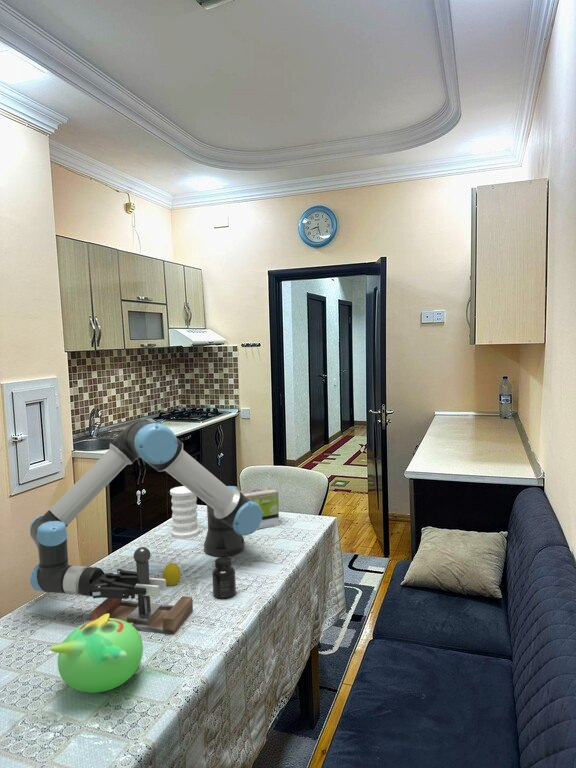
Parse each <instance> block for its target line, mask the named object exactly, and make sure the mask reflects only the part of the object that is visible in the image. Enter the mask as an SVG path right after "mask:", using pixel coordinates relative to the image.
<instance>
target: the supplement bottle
mask: <svg viewBox="0 0 576 768" xmlns="http://www.w3.org/2000/svg"><path fill="white" fill-rule="evenodd" d="M214 566H215V568H213V570H212V572H211V573H212V574H211V575H212V576H211V577H212V596H213V597H214V599H216V600H220V601H222V600H230V599H232V598H234V597H235V596H237V583H236V570H235V568H234V566H233V565H232V558H231V557H230V556H221V557H220V556H219V557H217V558H216V559H215V560H214Z"/></svg>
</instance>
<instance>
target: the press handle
mask: <svg viewBox="0 0 576 768" xmlns="http://www.w3.org/2000/svg"><path fill="white" fill-rule="evenodd" d="M150 559H151V551H150V549H149V548H147V547H146V546H141V547H138V548H137V549H136V550H134V553H133V560H134V561H135V566H136V572H137V584H146V585H150V583H149V578H150V568H149V567H150V564H149V563H150V562H149V560H150ZM137 602H138V607H137V608H136V609H135V610H134V611H133V612H132V613H131V614H130V615H129V616H128V617H127V622H130V623H133V624H138V625H147V626H149V625H150V624H151V623H152V622H153V620H154V619H155V618H156V617H157V616H158V615H159V614H160V613H161V612H162V604H163V603H162V604H161V603H154V604H152V603H150V602H151V596H144V595H137Z"/></svg>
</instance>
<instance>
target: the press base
mask: <svg viewBox="0 0 576 768" xmlns="http://www.w3.org/2000/svg"><path fill="white" fill-rule="evenodd" d="M150 603H152V604H155V603H154V602H152V601H150ZM193 603H194V601H193V597H192V596H185V595H184V596H183V595H182V596H181V597H180V598H179V600H178V601H177V602H175V604H173V605H172V604H163V603H162V612H161V613H160V614H159V615H158V616H157V617H156V618H155V619H154V620H153V622H152V623H151V624H150V625H149V626H147V625H138V624H133V623H130V622H127V617H128V616H129V615H130V614H131V613H132V612H133V611H134V610H135V609H136V608H137V607H138V601H132V600H124V599H117V598H105V599H104V600H103V601H102V602H101V603H100V604H99V605H98V606H96V608H94V609H93V610H92V611H90V621H93V620H96V619H98V618H100V617H101V616H103V615H104V614H107V613H109V614H110V616H109V618H114V619H119V620H123V621H125V622H127V623H129V624H131V625H132V626H133V627H134V628H135V629H136V630H137V631H138V632H146V633H154V634H155V633H157V634H164V635H172V636H174V635H175V634H176V633H177V632H178V630H179V629H180V628H181V626H182V625H183V624H184V623H185V622H186V620H187V619H188V618H189V617H190V615H191V614H192V613H193V611H194V608H193V607H194V606H193V605H194V604H193Z"/></svg>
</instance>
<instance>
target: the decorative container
mask: <svg viewBox="0 0 576 768" xmlns="http://www.w3.org/2000/svg"><path fill="white" fill-rule="evenodd" d="M169 495H170V496H171V500H170V502H171V511H172V514H171V518H172V529H171V530H170V536H171V537H172V538H174V539H175V538H176V539H189V538H193V537H196V536H198V535H199V534H200V533H201V529H200V528H201V527H199V526H198V523H199V521H198V511H197V509H198V505H197V500H198V497H197V496H196V495H195V494H194V493H192V492H191V491H190V490H189V489H187V488H186V487H185V486H184V485H182V486H175V487H172V488H170V490H169Z"/></svg>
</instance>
